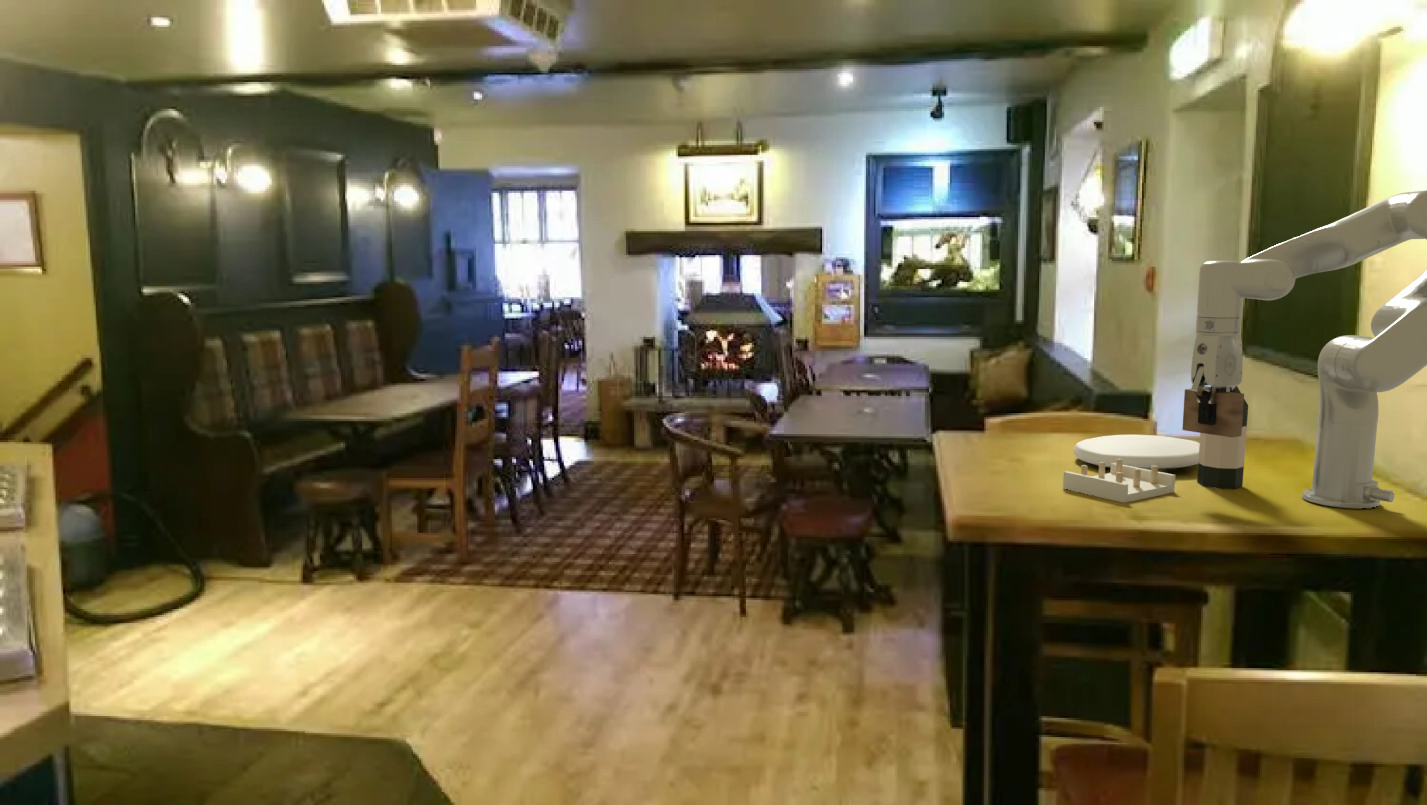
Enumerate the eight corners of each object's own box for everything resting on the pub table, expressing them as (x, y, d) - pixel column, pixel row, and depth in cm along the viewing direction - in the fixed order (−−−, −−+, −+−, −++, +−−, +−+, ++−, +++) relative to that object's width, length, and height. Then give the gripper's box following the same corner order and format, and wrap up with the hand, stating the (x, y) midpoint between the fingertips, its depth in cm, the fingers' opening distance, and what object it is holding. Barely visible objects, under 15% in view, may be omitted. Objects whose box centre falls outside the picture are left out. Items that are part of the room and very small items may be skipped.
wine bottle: (1217, 490, 202) (1228, 340, 198) (1187, 481, 210) (1197, 337, 205) (1251, 487, 204) (1263, 339, 200) (1221, 478, 212) (1231, 336, 208)
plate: (1090, 454, 216) (1060, 433, 242) (1092, 483, 216) (1062, 459, 243) (1227, 442, 212) (1182, 422, 239) (1229, 472, 213) (1183, 449, 239)
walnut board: (1241, 435, 189) (1244, 393, 188) (1232, 437, 188) (1235, 394, 187) (1191, 428, 198) (1193, 388, 197) (1182, 430, 196) (1184, 389, 195)
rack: (1174, 492, 200) (1175, 467, 200) (1124, 502, 192) (1125, 477, 191) (1112, 479, 212) (1114, 455, 211) (1063, 488, 203) (1064, 464, 203)
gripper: (1212, 329, 182) (1206, 430, 185) (1261, 326, 191) (1255, 421, 194) (1174, 327, 189) (1168, 424, 191) (1223, 324, 197) (1217, 416, 200)
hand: (1212, 422), depth 192 cm, fingers closed on walnut board, 3 cm apart
